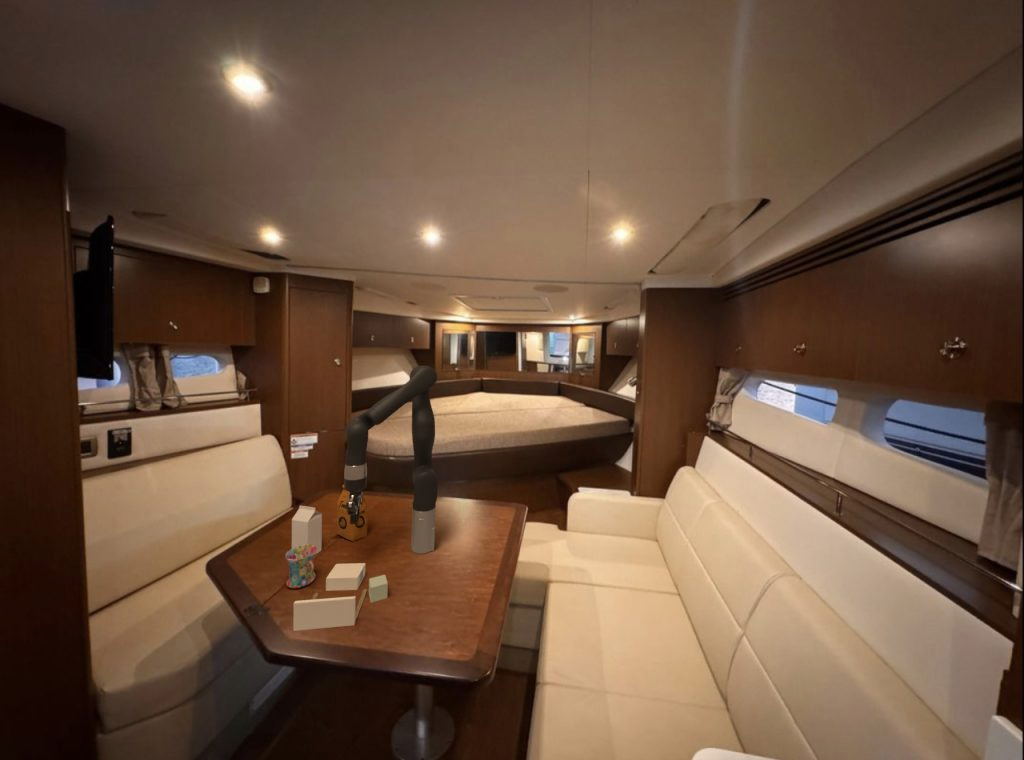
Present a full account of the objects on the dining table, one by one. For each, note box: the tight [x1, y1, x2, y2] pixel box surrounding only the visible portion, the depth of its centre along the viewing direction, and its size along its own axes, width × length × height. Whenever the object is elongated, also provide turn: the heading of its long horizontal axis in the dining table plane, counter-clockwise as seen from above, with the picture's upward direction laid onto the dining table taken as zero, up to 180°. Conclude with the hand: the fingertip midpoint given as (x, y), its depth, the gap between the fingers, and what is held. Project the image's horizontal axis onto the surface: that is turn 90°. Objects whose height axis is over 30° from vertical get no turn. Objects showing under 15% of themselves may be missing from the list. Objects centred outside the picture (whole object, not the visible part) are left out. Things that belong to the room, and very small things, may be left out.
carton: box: [325, 562, 367, 592], centre depth 114 cm, size 10×8×4 cm
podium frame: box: [310, 588, 368, 622], centre depth 102 cm, size 16×13×1 cm
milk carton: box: [291, 505, 323, 556], centre depth 129 cm, size 7×7×19 cm
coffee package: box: [336, 484, 369, 543], centre depth 144 cm, size 10×12×22 cm
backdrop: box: [292, 595, 357, 632], centre depth 95 cm, size 16×1×8 cm, turn 100°
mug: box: [284, 545, 317, 589], centre depth 112 cm, size 12×9×11 cm
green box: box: [368, 574, 389, 604], centre depth 108 cm, size 5×5×5 cm
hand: (354, 521), depth 122 cm, fingers open, 3 cm apart
